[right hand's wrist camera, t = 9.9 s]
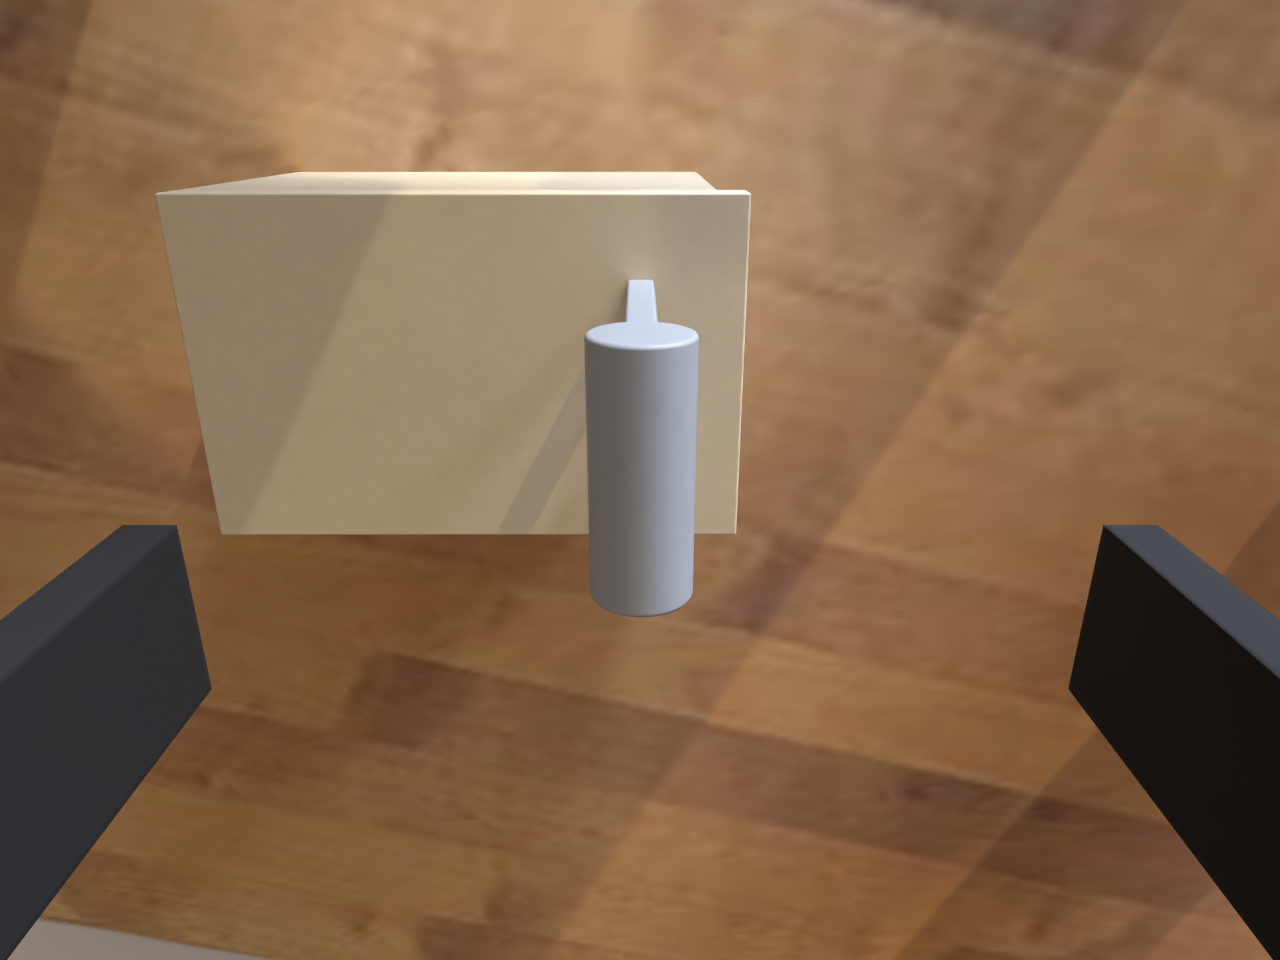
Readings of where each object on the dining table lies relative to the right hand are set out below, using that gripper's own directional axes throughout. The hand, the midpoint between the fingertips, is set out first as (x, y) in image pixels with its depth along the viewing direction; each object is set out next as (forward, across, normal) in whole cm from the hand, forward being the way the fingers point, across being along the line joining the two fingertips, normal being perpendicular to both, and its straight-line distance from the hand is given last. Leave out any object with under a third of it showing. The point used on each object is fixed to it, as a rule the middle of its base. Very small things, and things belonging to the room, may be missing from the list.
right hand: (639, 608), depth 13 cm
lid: (+14, -5, 0) cm, 14 cm away
